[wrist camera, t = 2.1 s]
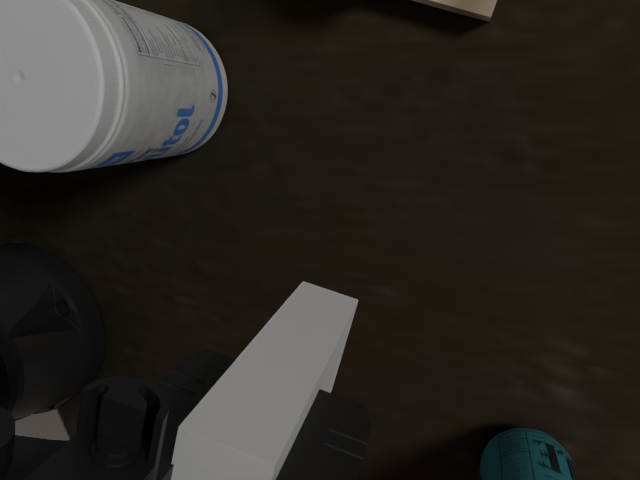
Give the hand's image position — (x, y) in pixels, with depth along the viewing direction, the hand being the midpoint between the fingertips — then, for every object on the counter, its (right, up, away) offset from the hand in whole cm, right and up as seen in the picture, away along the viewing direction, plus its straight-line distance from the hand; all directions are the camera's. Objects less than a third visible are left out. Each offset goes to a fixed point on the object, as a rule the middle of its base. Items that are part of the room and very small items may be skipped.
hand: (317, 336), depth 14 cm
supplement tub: (-11, +14, +26) cm, 31 cm away
